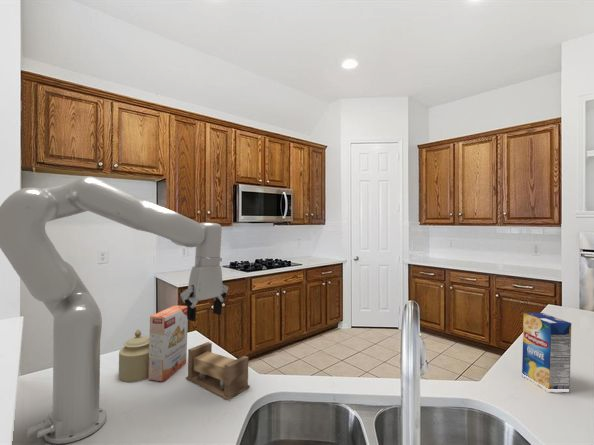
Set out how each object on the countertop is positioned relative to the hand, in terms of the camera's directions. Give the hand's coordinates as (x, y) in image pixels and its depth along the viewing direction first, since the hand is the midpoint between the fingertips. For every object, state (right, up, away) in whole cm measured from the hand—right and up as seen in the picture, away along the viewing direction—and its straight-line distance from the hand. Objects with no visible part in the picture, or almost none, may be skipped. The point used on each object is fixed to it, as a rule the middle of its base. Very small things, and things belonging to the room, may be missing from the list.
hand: (204, 316), depth 97 cm
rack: (+3, -22, +2) cm, 22 cm away
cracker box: (-15, -22, +9) cm, 28 cm away
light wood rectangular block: (+3, -18, +2) cm, 19 cm away
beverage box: (+111, -24, +6) cm, 114 cm away
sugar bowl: (-25, -22, +9) cm, 34 cm away
